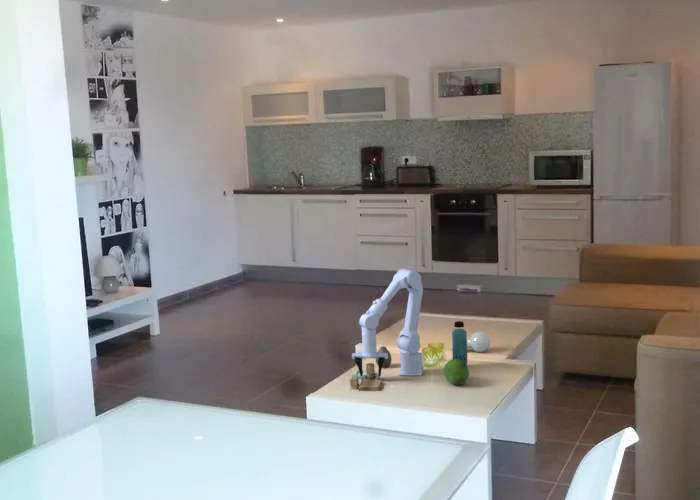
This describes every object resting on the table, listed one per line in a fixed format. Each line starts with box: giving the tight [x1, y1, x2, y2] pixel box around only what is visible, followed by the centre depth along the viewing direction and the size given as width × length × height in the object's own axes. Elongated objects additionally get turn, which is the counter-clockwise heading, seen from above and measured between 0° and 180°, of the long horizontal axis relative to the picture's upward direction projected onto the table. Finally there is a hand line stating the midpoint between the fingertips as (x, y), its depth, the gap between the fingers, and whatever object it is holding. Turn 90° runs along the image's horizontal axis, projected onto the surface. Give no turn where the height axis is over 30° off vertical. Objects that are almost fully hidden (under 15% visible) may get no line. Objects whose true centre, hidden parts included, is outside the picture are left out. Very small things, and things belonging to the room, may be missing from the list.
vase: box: [375, 346, 392, 369], centre depth 353 cm, size 7×7×9 cm
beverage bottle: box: [451, 320, 468, 366], centre depth 346 cm, size 6×7×20 cm
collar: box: [360, 374, 381, 382], centre depth 333 cm, size 7×7×2 cm
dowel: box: [365, 362, 376, 379], centre depth 333 cm, size 3×3×7 cm
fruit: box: [443, 358, 470, 385], centre depth 325 cm, size 15×10×10 cm, turn 173°
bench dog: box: [349, 374, 360, 390], centre depth 325 cm, size 2×6×4 cm, turn 171°
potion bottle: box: [467, 331, 491, 353], centre depth 371 cm, size 9×10×15 cm
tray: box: [353, 369, 376, 380], centre depth 340 cm, size 8×8×2 cm
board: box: [358, 379, 383, 392], centre depth 324 cm, size 8×10×2 cm
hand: (370, 375), depth 333 cm, fingers open, 7 cm apart
